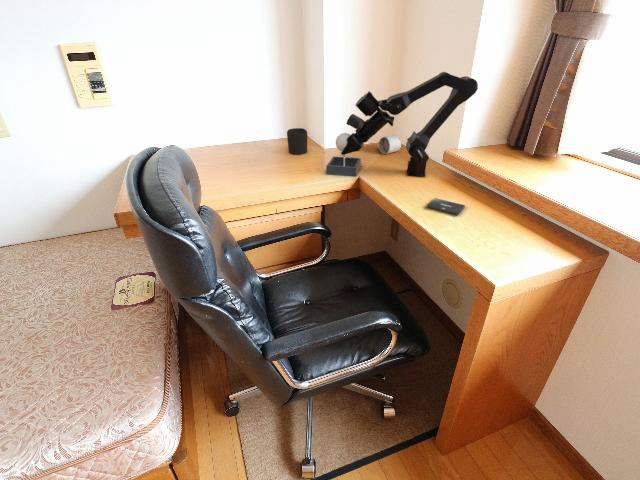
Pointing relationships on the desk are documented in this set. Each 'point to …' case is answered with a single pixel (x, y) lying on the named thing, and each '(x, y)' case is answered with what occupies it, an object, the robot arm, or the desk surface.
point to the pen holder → (297, 141)
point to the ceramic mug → (389, 144)
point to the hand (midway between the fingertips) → (345, 150)
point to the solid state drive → (446, 206)
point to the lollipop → (342, 143)
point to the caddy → (344, 169)
